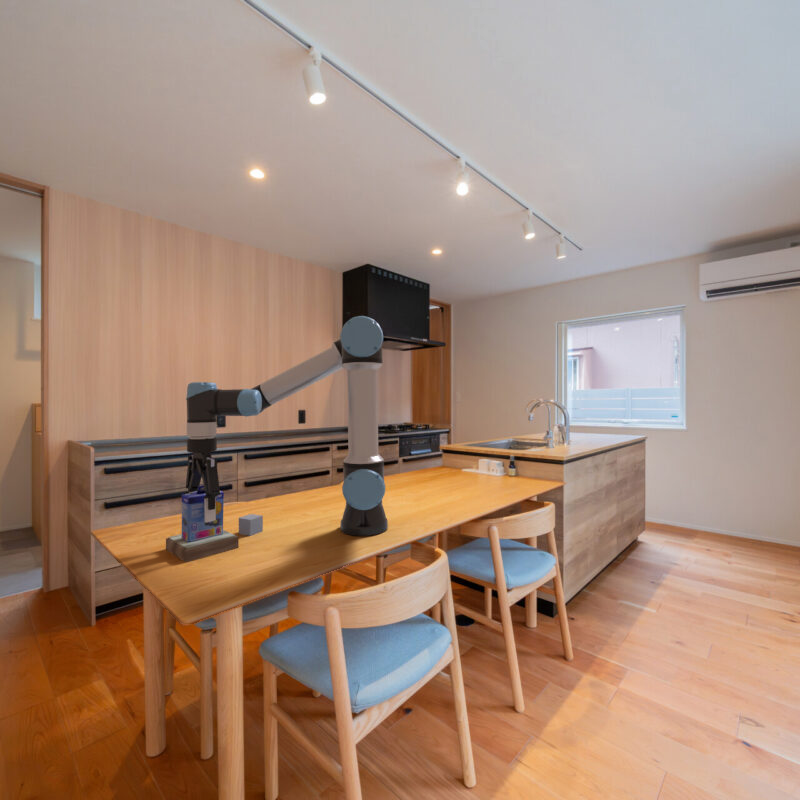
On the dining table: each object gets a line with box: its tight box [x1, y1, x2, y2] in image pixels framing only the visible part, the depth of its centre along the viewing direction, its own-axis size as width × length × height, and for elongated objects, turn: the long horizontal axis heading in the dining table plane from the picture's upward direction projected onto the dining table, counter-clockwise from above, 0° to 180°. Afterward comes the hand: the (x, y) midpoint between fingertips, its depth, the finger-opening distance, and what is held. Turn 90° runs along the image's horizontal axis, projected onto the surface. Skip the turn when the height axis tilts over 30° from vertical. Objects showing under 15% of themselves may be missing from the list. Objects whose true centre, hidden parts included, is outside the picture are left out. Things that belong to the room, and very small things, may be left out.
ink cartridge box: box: [181, 484, 225, 542], centre depth 114 cm, size 10×6×14 cm, turn 138°
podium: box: [165, 529, 240, 563], centre depth 114 cm, size 14×14×3 cm
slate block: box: [238, 513, 264, 537], centre depth 128 cm, size 5×5×5 cm
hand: (202, 517), depth 114 cm, fingers open, 9 cm apart
